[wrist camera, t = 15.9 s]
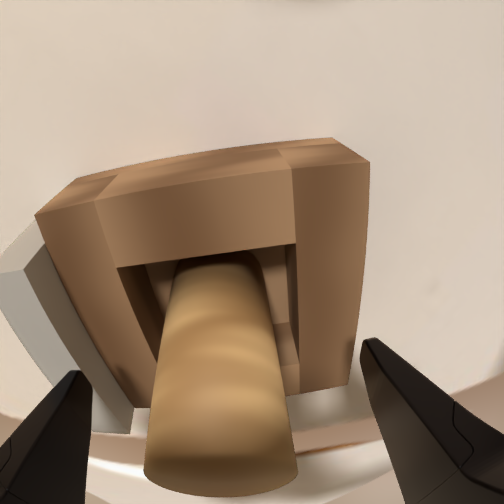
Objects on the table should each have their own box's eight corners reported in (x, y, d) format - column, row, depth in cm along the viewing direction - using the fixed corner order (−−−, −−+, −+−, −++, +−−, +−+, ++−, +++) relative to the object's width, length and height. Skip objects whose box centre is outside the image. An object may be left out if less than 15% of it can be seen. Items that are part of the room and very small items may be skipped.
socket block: (332, 137, 11) (369, 162, 8) (329, 332, 16) (347, 384, 13) (76, 178, 11) (34, 214, 8) (144, 355, 16) (134, 408, 13)
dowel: (258, 235, 12) (298, 443, 5) (267, 308, 14) (297, 489, 7) (163, 249, 12) (116, 452, 5) (185, 318, 14) (172, 497, 7)
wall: (82, 201, 12) (23, 269, 7) (143, 355, 16) (129, 434, 12) (45, 210, 12) (-18, 276, 7) (112, 356, 16) (93, 431, 12)
